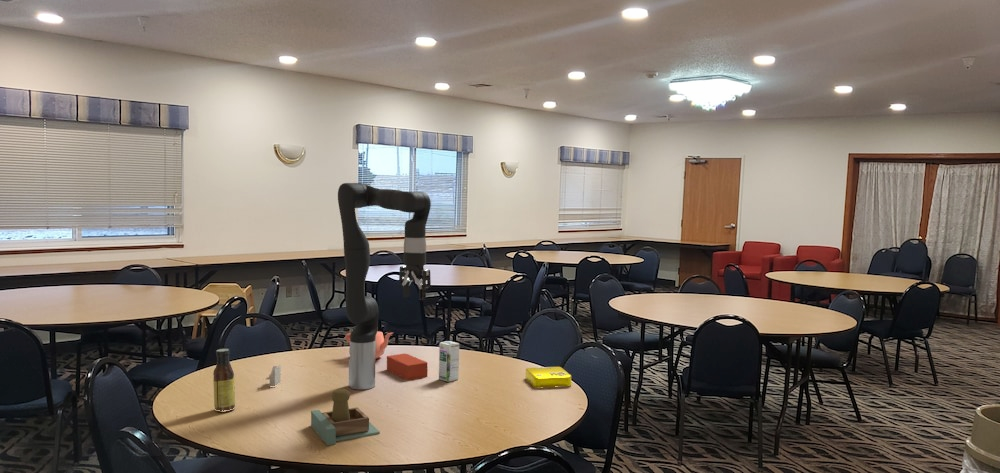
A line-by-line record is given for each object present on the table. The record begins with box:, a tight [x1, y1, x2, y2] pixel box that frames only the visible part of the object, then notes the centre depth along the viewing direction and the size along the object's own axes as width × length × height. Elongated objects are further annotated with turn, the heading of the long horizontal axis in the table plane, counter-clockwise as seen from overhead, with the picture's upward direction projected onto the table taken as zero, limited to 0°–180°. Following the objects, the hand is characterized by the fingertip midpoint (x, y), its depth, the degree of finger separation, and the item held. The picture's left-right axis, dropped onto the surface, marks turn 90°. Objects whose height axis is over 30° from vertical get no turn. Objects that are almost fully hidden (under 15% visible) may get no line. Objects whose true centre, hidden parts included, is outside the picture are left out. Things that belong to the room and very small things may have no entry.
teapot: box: [344, 331, 394, 359], centre depth 280 cm, size 17×16×13 cm
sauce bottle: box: [212, 348, 236, 411], centre depth 210 cm, size 7×6×20 cm
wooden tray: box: [322, 406, 370, 436], centre depth 194 cm, size 11×11×4 cm
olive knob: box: [331, 388, 351, 422], centre depth 192 cm, size 6×6×11 cm
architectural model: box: [265, 364, 282, 387], centre depth 239 cm, size 3×7×7 cm, turn 178°
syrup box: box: [438, 340, 460, 383], centre depth 251 cm, size 6×6×14 cm
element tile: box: [524, 366, 572, 388], centre depth 250 cm, size 15×15×5 cm
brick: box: [386, 353, 429, 381], centre depth 259 cm, size 18×9×6 cm, turn 37°
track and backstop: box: [310, 409, 381, 446], centre depth 194 cm, size 18×16×5 cm
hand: (414, 298), depth 219 cm, fingers open, 8 cm apart
